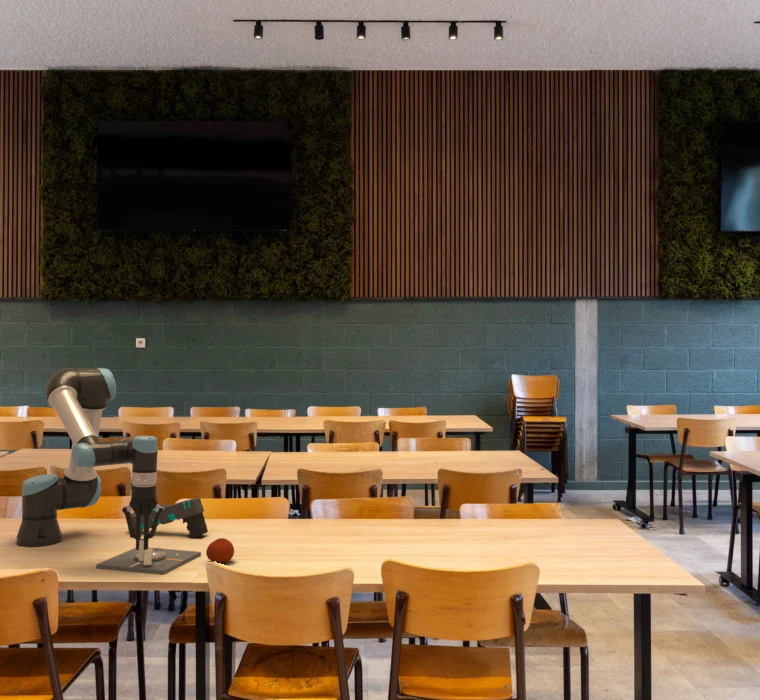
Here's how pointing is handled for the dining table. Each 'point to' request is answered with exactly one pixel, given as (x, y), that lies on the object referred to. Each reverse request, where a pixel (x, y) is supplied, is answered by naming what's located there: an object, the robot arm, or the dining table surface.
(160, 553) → the dial
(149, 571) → the panel
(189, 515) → the gun
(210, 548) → the fruit
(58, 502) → the robot arm
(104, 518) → the dining table surface
